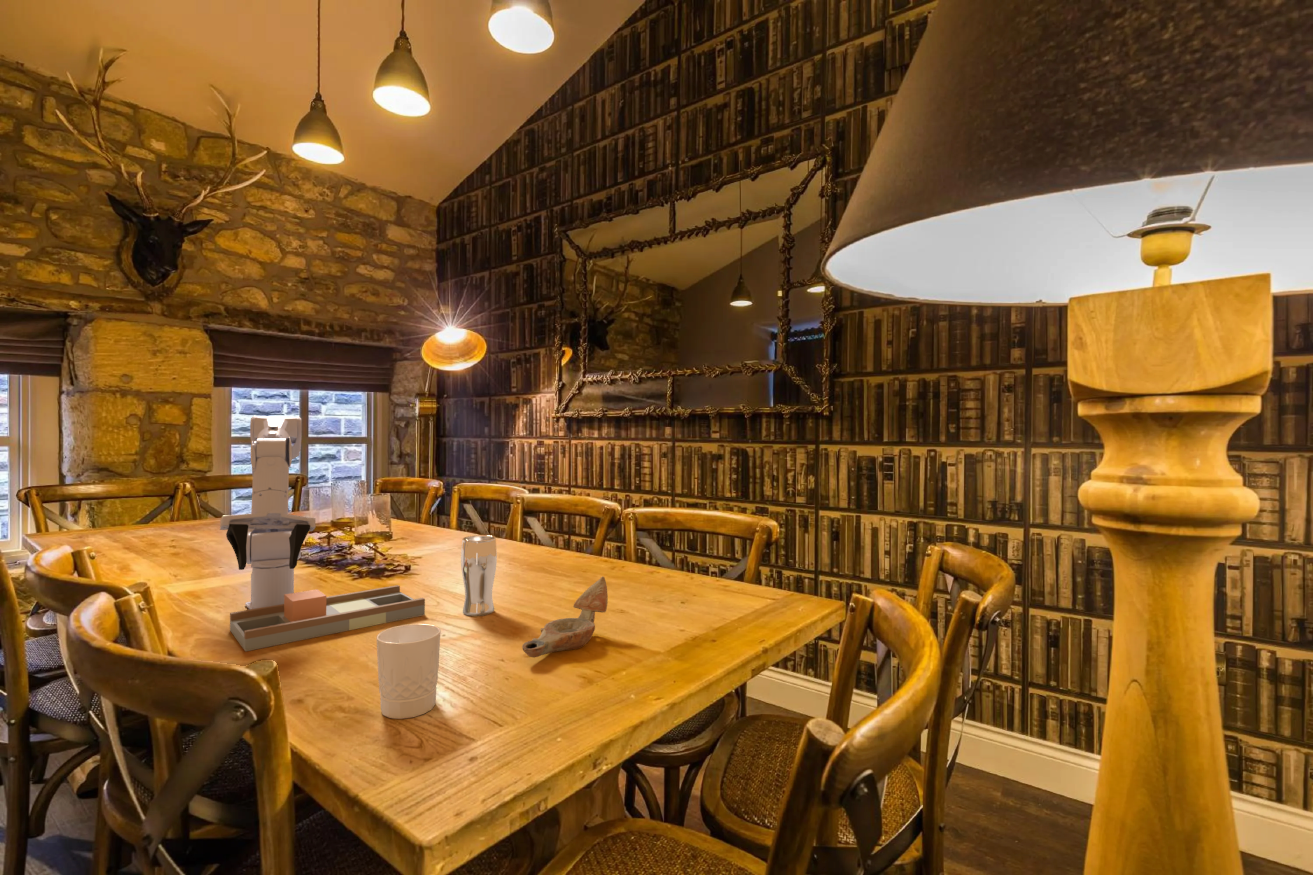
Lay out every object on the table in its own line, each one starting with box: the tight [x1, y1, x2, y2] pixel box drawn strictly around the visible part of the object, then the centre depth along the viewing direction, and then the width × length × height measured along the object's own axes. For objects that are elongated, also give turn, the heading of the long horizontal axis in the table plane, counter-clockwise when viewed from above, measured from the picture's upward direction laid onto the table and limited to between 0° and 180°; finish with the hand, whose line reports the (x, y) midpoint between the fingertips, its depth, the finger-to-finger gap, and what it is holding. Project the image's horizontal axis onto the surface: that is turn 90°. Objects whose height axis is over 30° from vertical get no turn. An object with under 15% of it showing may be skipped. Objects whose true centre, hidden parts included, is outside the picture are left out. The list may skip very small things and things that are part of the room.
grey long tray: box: [229, 584, 426, 652], centre depth 116 cm, size 14×30×3 cm, turn 133°
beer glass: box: [460, 534, 498, 617], centre depth 124 cm, size 7×7×15 cm
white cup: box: [376, 623, 442, 720], centre depth 81 cm, size 8×8×10 cm
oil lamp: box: [521, 576, 609, 659], centre depth 105 cm, size 9×21×10 cm, turn 150°
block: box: [284, 588, 327, 622], centre depth 113 cm, size 6×6×4 cm
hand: (268, 567), depth 107 cm, fingers open, 7 cm apart
